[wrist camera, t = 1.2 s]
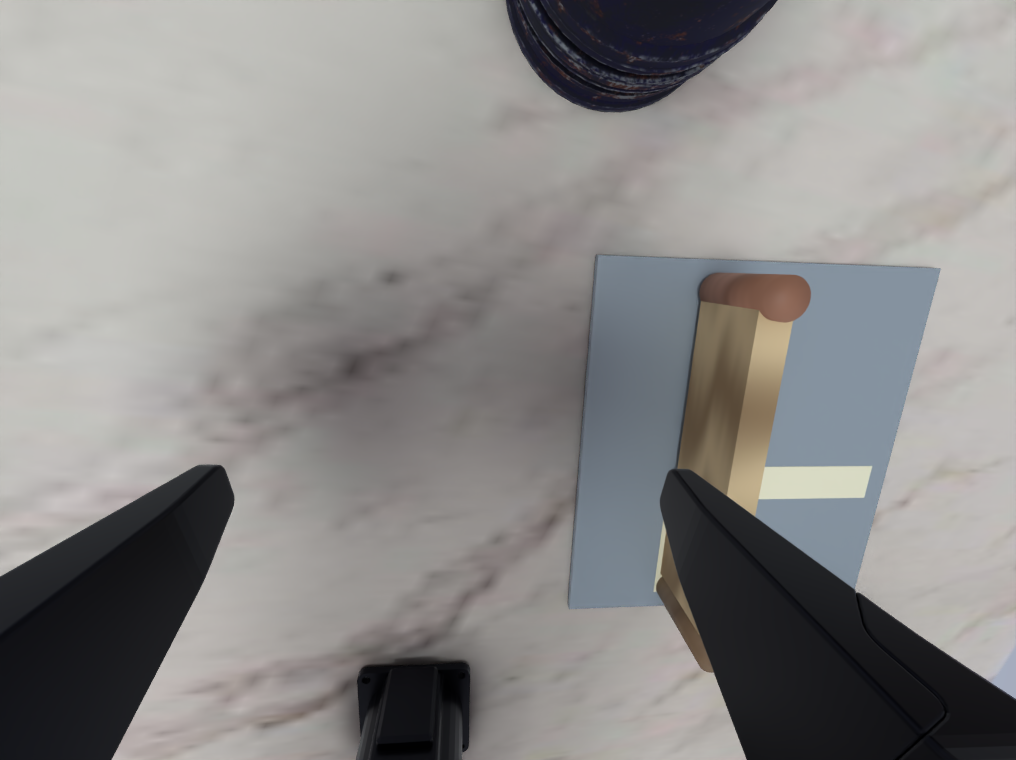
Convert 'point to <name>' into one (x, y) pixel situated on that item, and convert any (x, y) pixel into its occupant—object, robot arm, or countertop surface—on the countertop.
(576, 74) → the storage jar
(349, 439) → the countertop surface
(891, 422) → the board
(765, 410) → the rail
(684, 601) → the fixed fence rail
